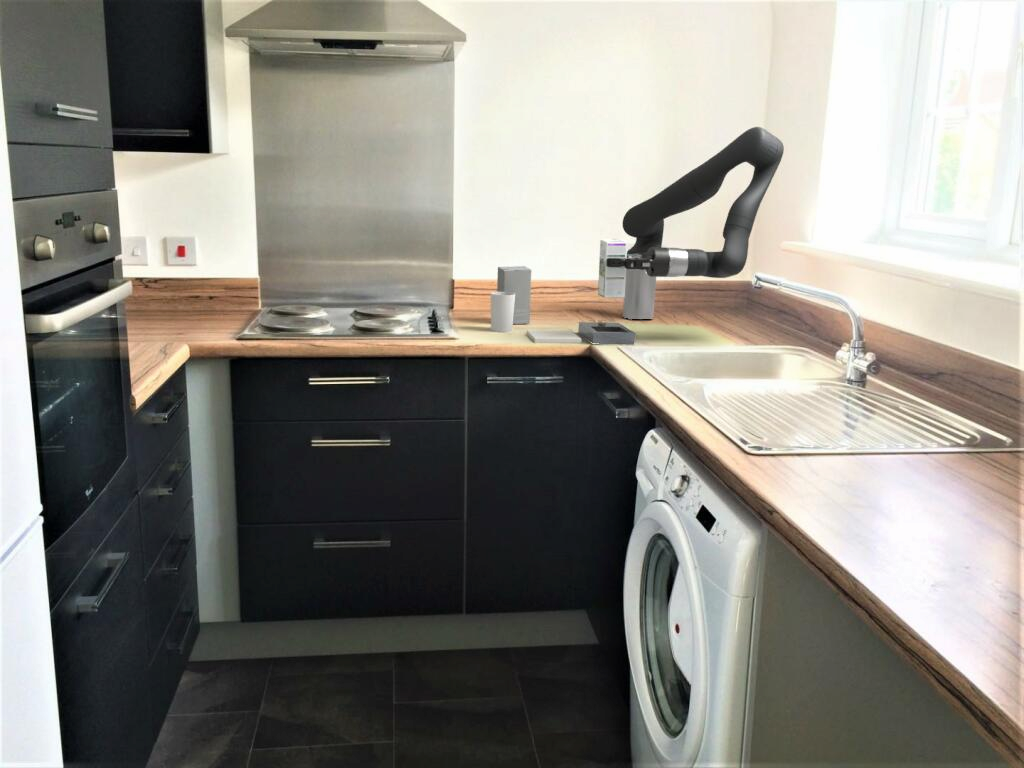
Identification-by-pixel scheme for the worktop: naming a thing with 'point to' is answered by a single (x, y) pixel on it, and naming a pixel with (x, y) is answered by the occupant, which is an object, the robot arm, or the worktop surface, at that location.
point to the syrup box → (612, 269)
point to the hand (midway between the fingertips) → (603, 261)
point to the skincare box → (517, 290)
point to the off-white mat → (553, 336)
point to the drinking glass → (502, 311)
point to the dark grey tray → (606, 332)
